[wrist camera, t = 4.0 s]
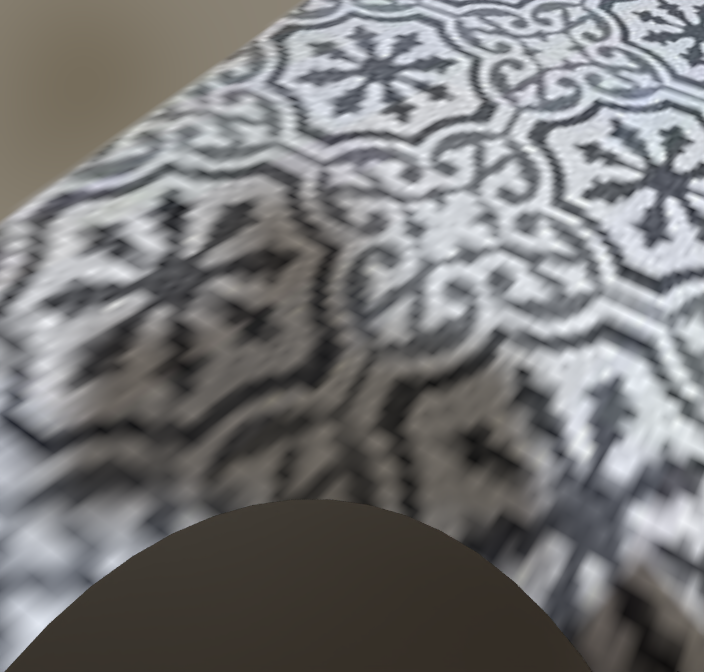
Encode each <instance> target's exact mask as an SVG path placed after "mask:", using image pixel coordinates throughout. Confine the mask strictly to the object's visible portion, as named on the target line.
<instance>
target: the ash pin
mask: <svg viewBox="0 0 704 672" xmlns="http://www.w3.org/2000/svg"><path fill="white" fill-rule="evenodd" d="M5 672H592V671H591V669H590V668H589V666H588V665H587V663H586V662H585V661H584V659H583V658H582V656H581V655H580V654H579V652H578V651H577V650H576V649H575V648H574V646H573V645H572V644H571V643H570V641H569V640H568V639H567V638H566V637H565V635H564V634H563V633H562V632H561V630H560V629H559V628H558V627H557V626H556V624H555V623H554V622H553V621H552V620H551V618H550V617H549V616H548V615H547V614H546V613H545V612H544V611H543V610H542V609H541V608H540V607H539V606H538V605H537V604H536V603H535V602H534V601H533V600H532V599H531V598H530V597H529V596H528V595H527V594H526V593H525V592H524V591H523V590H522V589H521V588H520V587H519V586H518V585H517V584H516V583H515V582H514V581H513V580H511V579H510V578H509V577H508V576H506V575H505V574H504V573H502V572H501V571H500V570H499V569H497V568H496V567H495V566H494V565H492V564H491V563H490V562H488V561H487V560H486V559H485V558H483V557H482V556H481V555H479V554H478V553H477V552H475V551H473V550H472V549H470V548H468V547H467V546H465V545H463V544H462V543H460V542H458V541H457V540H455V539H453V538H452V537H450V536H449V535H447V534H445V533H444V532H442V531H440V530H437V529H435V528H433V527H431V526H428V525H426V524H424V523H421V522H419V521H417V520H415V519H412V518H410V517H408V516H405V515H402V514H399V513H395V512H392V511H388V510H385V509H381V508H378V507H374V506H371V505H366V504H359V503H352V502H344V501H337V500H286V501H279V502H272V503H265V504H258V505H252V506H248V507H245V508H241V509H238V510H234V511H230V512H227V513H223V514H220V515H216V516H213V517H211V518H208V519H206V520H203V521H201V522H199V523H196V524H194V525H192V526H189V527H187V528H185V529H182V530H180V531H177V532H175V533H173V534H171V535H169V536H168V537H166V538H164V539H162V540H161V541H159V542H157V543H155V544H154V545H152V546H150V547H148V548H147V549H145V550H143V551H141V552H139V553H138V554H136V555H134V556H132V557H131V558H130V559H128V560H127V561H126V562H124V563H123V564H121V565H120V566H119V567H117V568H116V569H114V570H113V571H112V572H110V573H109V574H108V575H106V576H105V577H103V578H102V579H101V580H99V581H98V582H97V583H95V584H94V585H92V586H91V587H90V588H89V589H88V590H86V591H85V592H84V593H83V594H82V595H81V596H80V597H79V598H78V599H76V600H75V601H74V602H73V603H72V604H71V605H70V606H69V607H67V608H66V609H65V610H64V611H63V612H62V613H61V614H60V615H58V616H57V617H56V618H55V619H54V620H53V621H52V622H51V623H49V624H48V625H47V627H46V628H45V629H44V630H43V631H42V632H41V633H40V634H39V635H38V636H37V637H36V638H35V639H34V641H33V642H32V643H31V644H30V645H29V646H28V647H27V648H26V649H25V650H24V651H23V652H22V653H21V654H20V656H19V657H18V658H17V659H16V660H15V661H14V662H13V663H12V664H11V665H10V666H9V667H8V668H7V670H6V671H5Z"/></svg>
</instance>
